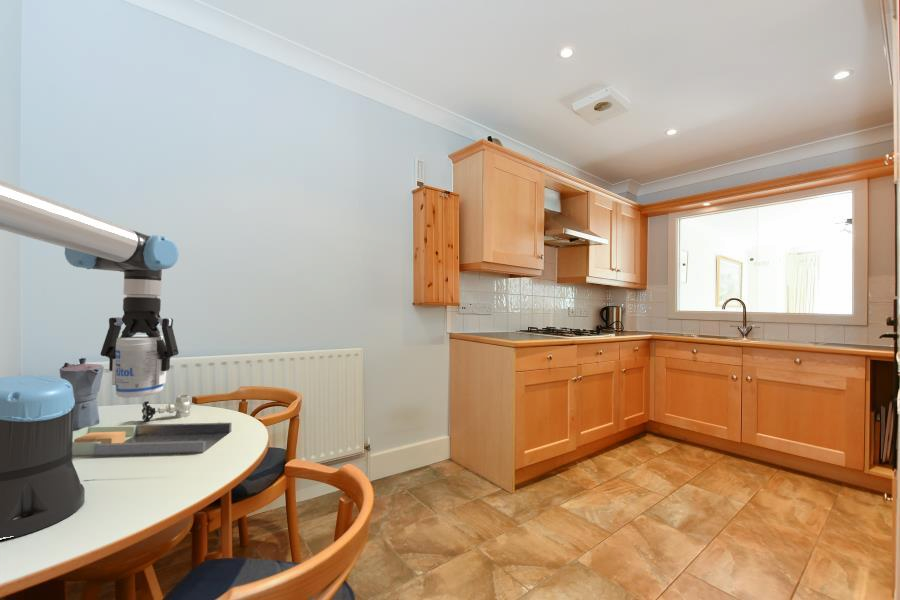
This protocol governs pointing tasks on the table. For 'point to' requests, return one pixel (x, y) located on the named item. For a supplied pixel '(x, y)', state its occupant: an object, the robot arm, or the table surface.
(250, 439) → the table surface
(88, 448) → the tray
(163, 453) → the tray
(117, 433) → the orange flat block
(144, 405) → the valve
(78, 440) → the chip
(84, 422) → the moka pot
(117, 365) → the supplement tub
